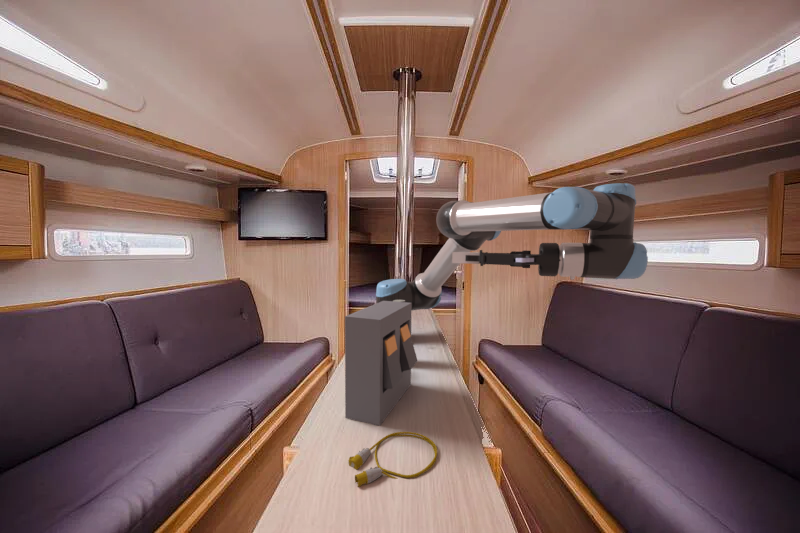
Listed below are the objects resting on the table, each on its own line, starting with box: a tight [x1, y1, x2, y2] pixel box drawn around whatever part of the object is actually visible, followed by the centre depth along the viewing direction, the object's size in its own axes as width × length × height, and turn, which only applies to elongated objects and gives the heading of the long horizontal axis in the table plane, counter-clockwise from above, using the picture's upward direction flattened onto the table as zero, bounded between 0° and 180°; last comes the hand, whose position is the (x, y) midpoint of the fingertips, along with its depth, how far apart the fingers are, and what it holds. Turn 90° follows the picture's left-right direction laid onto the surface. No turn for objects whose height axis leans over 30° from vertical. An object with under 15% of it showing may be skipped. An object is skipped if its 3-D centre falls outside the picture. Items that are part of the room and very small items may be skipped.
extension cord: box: [347, 431, 438, 488], centre depth 54 cm, size 12×16×2 cm
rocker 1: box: [383, 333, 402, 389], centre depth 67 cm, size 6×2×10 cm, turn 159°
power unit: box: [344, 301, 413, 426], centre depth 73 cm, size 20×8×22 cm, turn 159°
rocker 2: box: [400, 323, 419, 371], centre depth 76 cm, size 6×2×10 cm, turn 159°
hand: (452, 257), depth 77 cm, fingers closed
